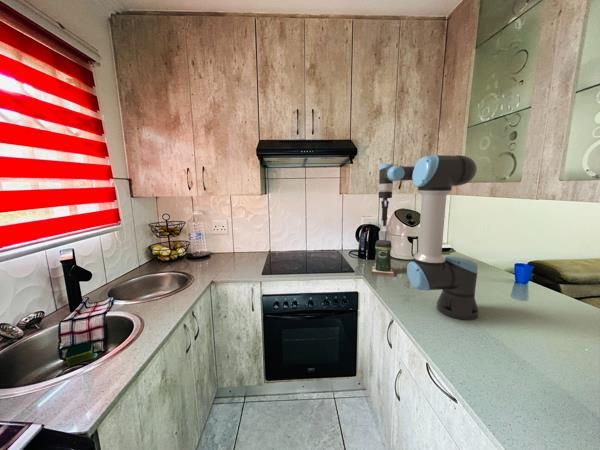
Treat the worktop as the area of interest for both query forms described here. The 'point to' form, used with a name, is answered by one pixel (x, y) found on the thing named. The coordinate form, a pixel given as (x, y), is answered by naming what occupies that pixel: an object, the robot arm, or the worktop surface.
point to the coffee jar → (383, 255)
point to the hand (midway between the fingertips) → (383, 230)
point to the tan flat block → (382, 272)
